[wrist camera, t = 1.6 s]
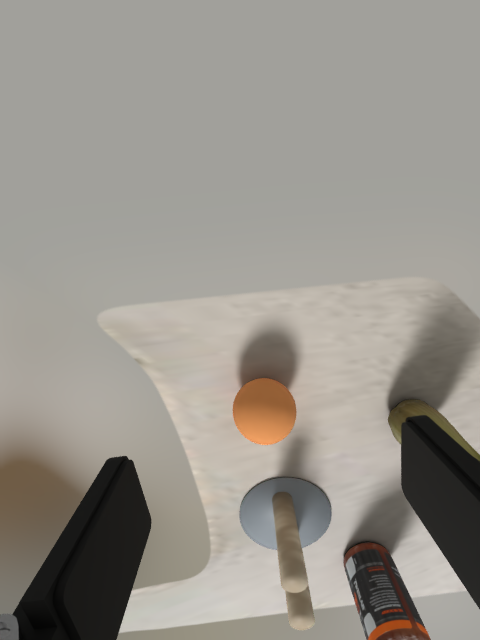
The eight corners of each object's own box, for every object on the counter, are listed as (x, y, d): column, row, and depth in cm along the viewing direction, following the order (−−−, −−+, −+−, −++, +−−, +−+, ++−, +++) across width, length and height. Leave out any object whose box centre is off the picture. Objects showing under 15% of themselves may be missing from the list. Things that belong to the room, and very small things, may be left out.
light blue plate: (325, 471, 31) (326, 472, 31) (335, 542, 34) (335, 544, 34) (231, 484, 32) (231, 485, 32) (248, 553, 35) (248, 555, 35)
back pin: (296, 521, 33) (313, 611, 25) (299, 536, 34) (316, 628, 26) (276, 524, 33) (287, 613, 25) (279, 538, 34) (291, 631, 26)
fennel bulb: (442, 417, 29) (572, 527, 18) (406, 445, 30) (507, 568, 19) (407, 384, 28) (520, 478, 17) (371, 414, 29) (454, 523, 18)
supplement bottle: (332, 555, 35) (372, 698, 24) (370, 531, 33) (430, 669, 23) (361, 581, 36) (412, 728, 25) (398, 558, 34) (470, 702, 24)
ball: (286, 363, 28) (297, 393, 22) (294, 414, 29) (306, 454, 24) (229, 373, 28) (225, 405, 23) (239, 422, 30) (238, 464, 24)
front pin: (290, 488, 32) (306, 571, 24) (293, 504, 33) (309, 591, 24) (270, 491, 32) (279, 575, 24) (273, 507, 33) (283, 594, 25)
